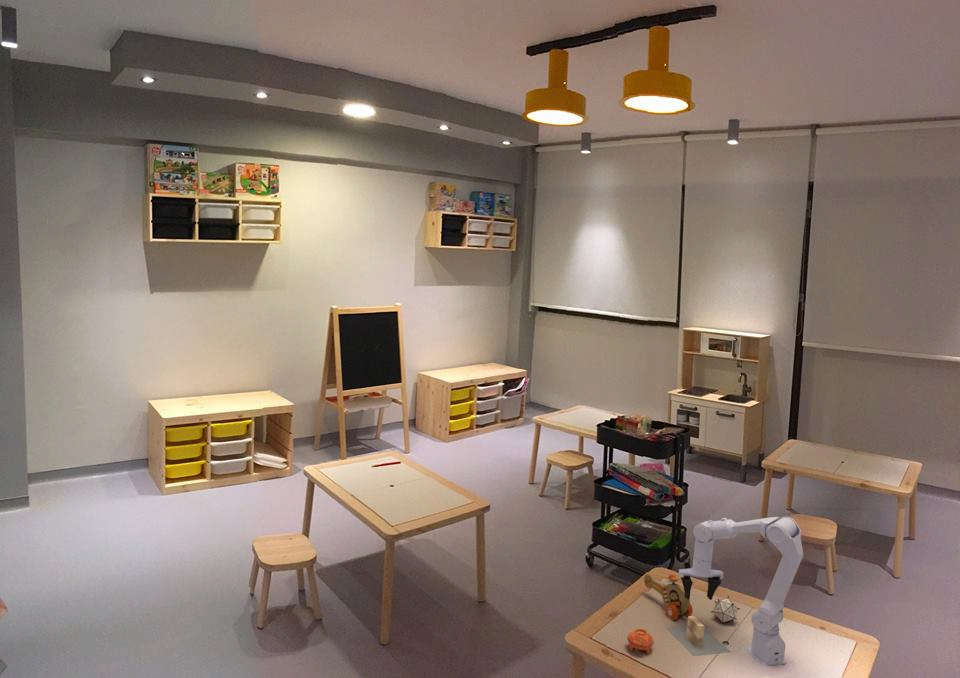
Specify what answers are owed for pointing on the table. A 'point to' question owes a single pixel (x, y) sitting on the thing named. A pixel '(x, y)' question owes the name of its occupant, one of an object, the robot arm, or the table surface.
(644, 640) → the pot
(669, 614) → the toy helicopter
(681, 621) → the table surface
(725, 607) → the game die
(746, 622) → the table surface
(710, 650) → the rubber mat
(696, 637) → the oak tile
